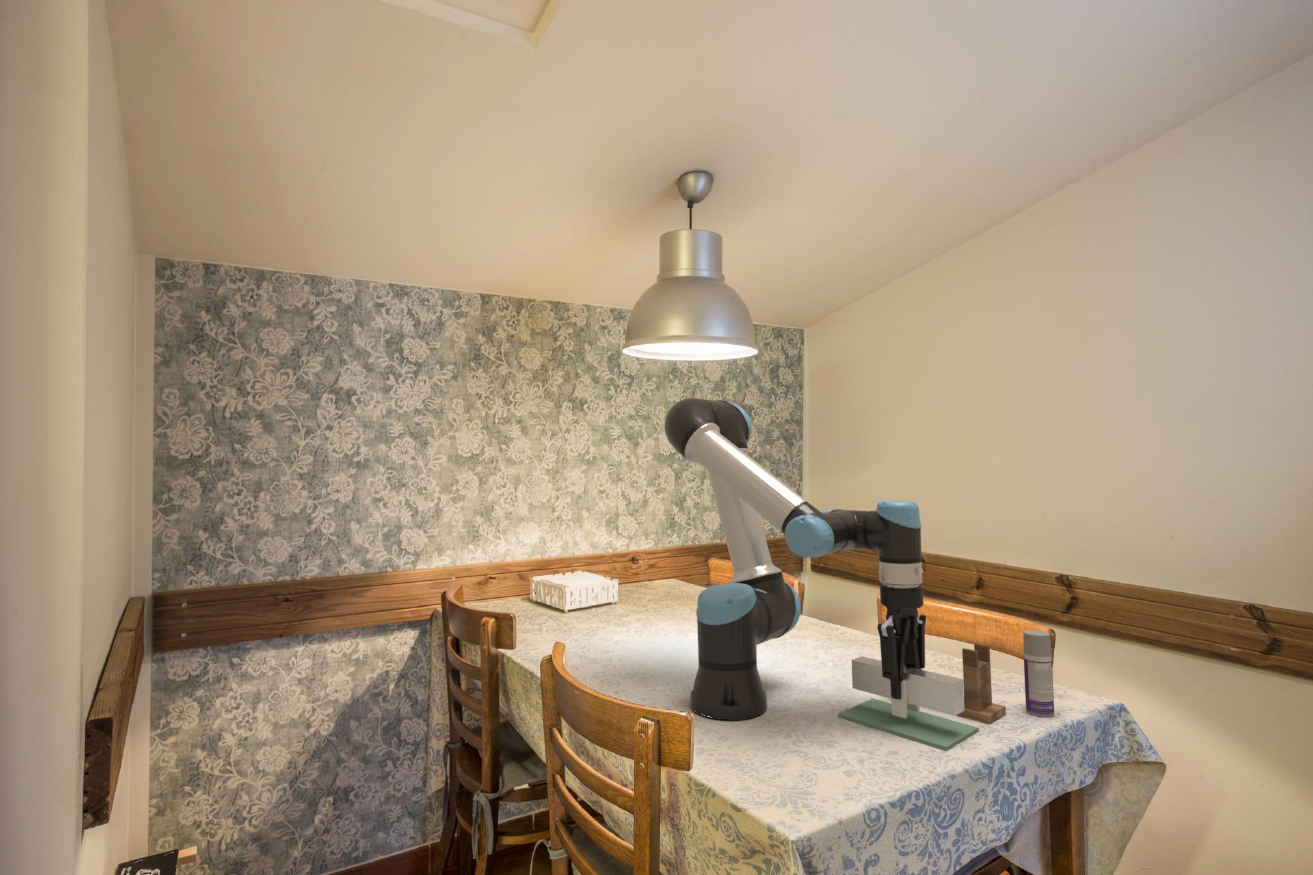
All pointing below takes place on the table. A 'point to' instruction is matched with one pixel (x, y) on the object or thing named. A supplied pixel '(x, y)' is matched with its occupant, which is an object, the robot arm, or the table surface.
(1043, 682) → the container
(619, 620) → the table surface
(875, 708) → the mat
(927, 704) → the rail
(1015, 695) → the table surface
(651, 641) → the table surface
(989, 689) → the rack
